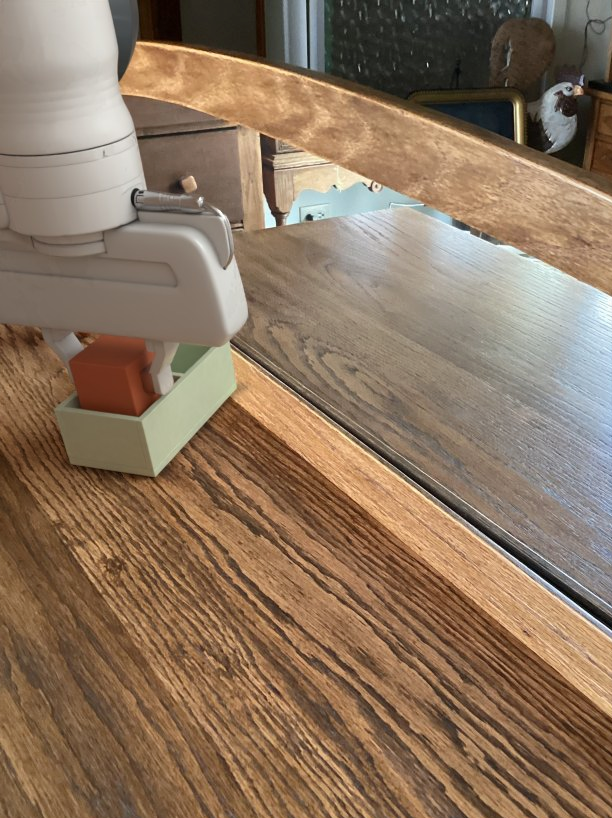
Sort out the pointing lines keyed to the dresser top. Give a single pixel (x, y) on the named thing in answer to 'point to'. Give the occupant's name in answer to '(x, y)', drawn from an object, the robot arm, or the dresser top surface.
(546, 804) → the dresser top surface
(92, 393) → the terracotta block
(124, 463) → the sorting tray
